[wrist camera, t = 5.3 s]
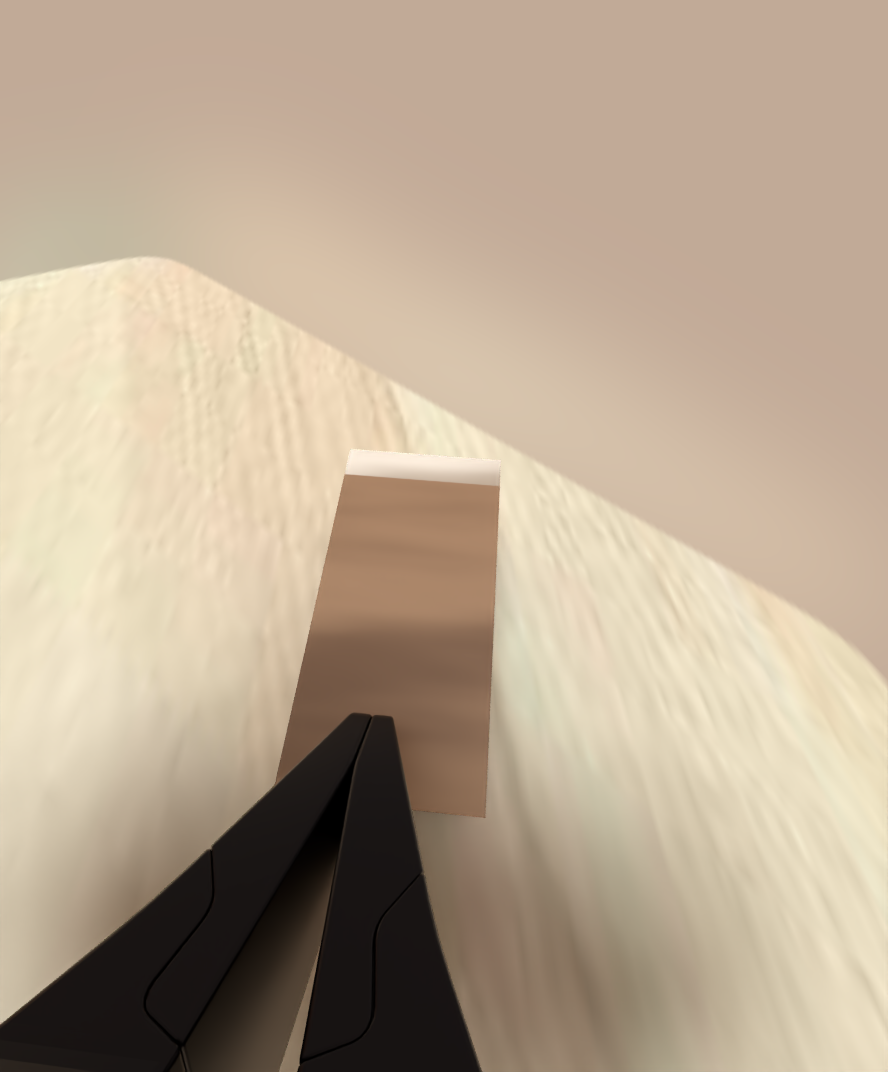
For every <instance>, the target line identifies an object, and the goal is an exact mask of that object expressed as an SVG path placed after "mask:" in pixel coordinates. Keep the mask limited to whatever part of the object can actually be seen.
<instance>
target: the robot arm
mask: <svg viewBox="0 0 888 1072" xmlns="http://www.w3.org/2000/svg"><path fill="white" fill-rule="evenodd" d="M321 939H322V940H321ZM320 942H321V945H320ZM319 946H320V951H319V956H318V962H317V967H316V973H315V978H314V984H313V989H312V994H311V1000H310V1005H309V1011H308V1016H307V1022H306V1027H305V1033H304V1038H303V1044H302V1049H301V1054H300V1066H299V1068H298V1071H297V1072H482V1070H481V1067H480V1064H479V1061H478V1058H477V1055H476V1052H475V1049H474V1046H473V1043H472V1040H471V1037H470V1034H469V1031H468V1028H467V1025H466V1022H465V1019H464V1016H463V1013H462V1009H461V1006H460V1003H459V1000H458V997H457V994H456V991H455V988H454V985H453V982H452V979H451V976H450V973H449V969H448V966H447V962H446V959H445V956H444V952H443V949H442V945H441V942H440V939H439V935H438V931H437V927H436V923H435V918H434V914H433V910H432V905H431V901H430V897H429V892H428V887H427V882H426V877H425V875H424V868H423V863H422V858H421V853H420V848H419V843H418V838H417V833H416V828H415V823H414V818H413V813H412V808H411V803H410V798H409V793H408V788H407V783H406V778H405V773H404V768H403V763H402V759H401V754H400V749H399V744H398V739H397V734H396V729H395V724H394V719H393V717H391V716H385V715H374V716H373V717H372V716H371V715H370V714H365V713H355V712H354V713H351V714H350V715H348V716H347V717H346V718H345V719H344V720H343V721H342V722H341V723H340V724H339V725H338V726H337V727H336V728H335V729H334V730H333V731H332V732H330V733H329V734H328V735H327V736H326V737H325V738H324V739H323V740H322V741H321V742H320V743H319V744H318V745H317V746H316V747H315V748H314V749H313V750H312V751H310V752H309V753H308V754H307V755H306V756H305V757H304V758H303V759H302V760H301V761H300V762H299V763H298V764H297V765H296V766H295V767H294V768H293V769H291V770H290V771H289V772H288V773H287V774H286V775H285V776H284V777H283V778H282V779H281V780H280V781H279V782H278V783H277V784H276V785H275V786H274V787H273V788H271V789H270V790H269V791H268V792H267V793H266V794H265V795H264V796H263V797H262V798H261V799H260V800H259V801H258V802H257V803H256V804H255V805H254V806H253V807H251V808H250V809H249V810H248V811H247V812H246V813H245V814H244V815H243V816H242V817H241V818H240V819H239V820H238V821H237V822H236V823H235V824H234V825H232V826H231V827H230V828H229V829H228V830H227V831H226V832H225V833H224V834H223V835H222V836H221V837H220V838H219V839H218V840H217V841H216V842H215V843H214V844H212V846H211V850H210V849H207V850H206V851H205V852H204V853H203V854H202V855H201V856H200V857H198V858H197V859H196V860H195V861H194V862H193V863H192V864H191V865H190V866H189V867H188V868H187V869H186V870H185V871H184V872H182V873H181V874H180V875H179V876H178V877H177V878H176V879H175V880H174V881H173V882H171V883H170V884H169V885H168V886H167V887H166V888H165V889H164V890H163V891H162V892H160V893H159V894H158V895H157V896H156V897H155V898H154V899H153V900H152V901H150V902H149V903H148V904H147V905H146V906H144V907H143V908H142V909H141V910H140V911H138V912H137V913H136V914H135V915H134V916H133V917H131V918H130V919H129V920H128V921H127V922H125V923H124V924H123V925H122V926H121V927H119V928H118V929H117V930H116V931H115V932H114V933H112V934H111V935H110V936H109V937H107V938H106V939H105V940H104V941H103V942H101V943H100V944H99V945H98V946H96V947H95V948H94V949H93V950H91V951H90V952H89V953H88V954H87V955H85V956H84V957H83V958H82V959H80V960H79V961H78V962H77V963H75V964H74V965H73V966H72V967H71V968H69V969H68V970H67V971H66V972H64V973H63V974H62V975H61V976H59V977H58V978H57V979H56V980H55V981H53V982H52V983H51V984H50V985H48V986H47V987H46V988H45V989H43V990H42V991H41V992H40V993H39V994H37V995H36V996H35V997H34V998H32V999H31V1000H30V1001H29V1002H28V1003H26V1004H25V1005H24V1006H23V1007H21V1008H20V1009H19V1010H18V1011H16V1012H15V1013H14V1014H13V1015H12V1016H10V1017H9V1018H8V1019H7V1020H5V1021H4V1022H3V1023H1V1024H0V1072H279V1069H280V1066H281V1063H282V1060H283V1057H284V1054H285V1051H286V1048H287V1045H288V1041H289V1038H290V1035H291V1032H292V1029H293V1026H294V1023H295V1020H296V1017H297V1014H298V1011H299V1007H300V1004H301V1001H302V998H303V995H304V992H305V989H306V986H307V983H308V980H309V976H310V973H311V970H312V967H313V964H314V961H315V958H316V955H317V952H318V949H319Z"/></svg>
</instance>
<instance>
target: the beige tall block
mask: <svg viewBox="0 0 888 1072" xmlns="http://www.w3.org/2000/svg"><path fill="white" fill-rule="evenodd" d="M500 467H501V460H491V459H477V458H464V457H451V456H437V455H424V454H411V453H397V452H384V451H371V450H357V449H350V453H349V457H348V462H347V466H346V471H345V475H344V480H343V484H342V488H341V493H340V497H339V502H338V506H337V511H336V515H335V520H334V524H333V528H332V533H331V537H330V542H329V546H328V551H327V555H326V560H325V564H324V568H323V573H322V577H321V582H320V586H319V591H318V595H317V600H316V604H315V608H314V613H313V617H312V622H311V626H310V631H309V635H308V640H307V644H306V648H305V653H304V657H303V662H302V666H301V671H300V675H299V680H298V684H297V688H296V693H295V697H294V702H293V706H292V711H291V715H290V720H289V724H288V728H287V733H286V737H285V742H284V746H283V751H282V755H281V760H280V764H279V768H278V773H277V777H276V782H275V785H276V784H277V783H278V782H279V781H280V780H281V779H282V778H283V777H284V776H285V775H286V774H287V773H288V772H289V771H290V770H291V769H293V768H294V767H295V766H296V765H297V764H298V763H299V762H300V761H301V760H302V759H303V758H304V757H305V756H306V755H307V754H308V753H309V752H310V751H312V750H313V749H314V748H315V747H316V746H317V745H318V744H319V743H320V742H321V741H322V740H323V739H324V738H325V737H326V736H327V735H328V734H329V733H330V732H332V731H333V730H334V729H335V728H336V727H337V726H338V725H339V724H340V723H341V722H342V721H343V720H344V719H345V718H346V717H347V716H348V715H350V714H351V713H354V712H355V713H365V714H370V715H371V716H372V717H373V716H374V715H385V716H391V717H393V719H394V724H395V729H396V734H397V739H398V744H399V749H400V754H401V759H402V763H403V768H404V773H405V778H406V783H407V788H408V793H409V798H410V803H411V808H412V810H418V811H427V812H436V813H446V814H455V815H464V816H473V817H483V818H485V811H486V788H487V765H488V742H489V720H490V697H491V674H492V651H493V628H494V605H495V582H496V559H497V536H498V513H499V490H500Z"/></svg>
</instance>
